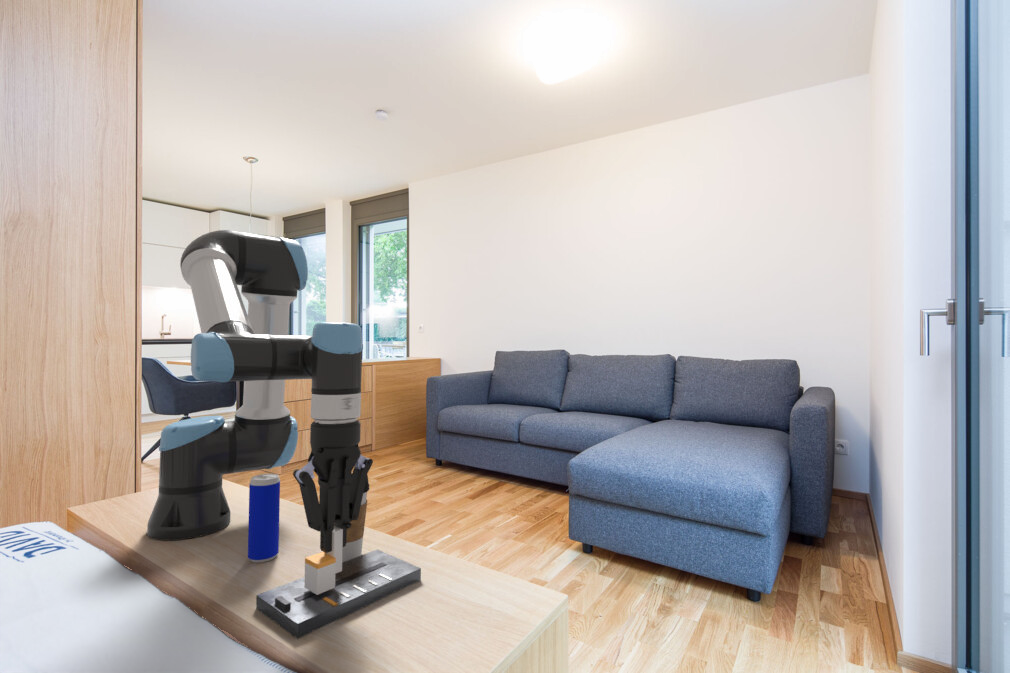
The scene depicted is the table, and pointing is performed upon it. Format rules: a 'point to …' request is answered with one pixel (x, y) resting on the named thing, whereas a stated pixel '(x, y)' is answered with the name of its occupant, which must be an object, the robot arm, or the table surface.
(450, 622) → the table surface
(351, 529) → the coffee cup
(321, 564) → the fader tab
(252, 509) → the beverage can
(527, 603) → the table surface
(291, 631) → the panel
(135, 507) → the table surface
